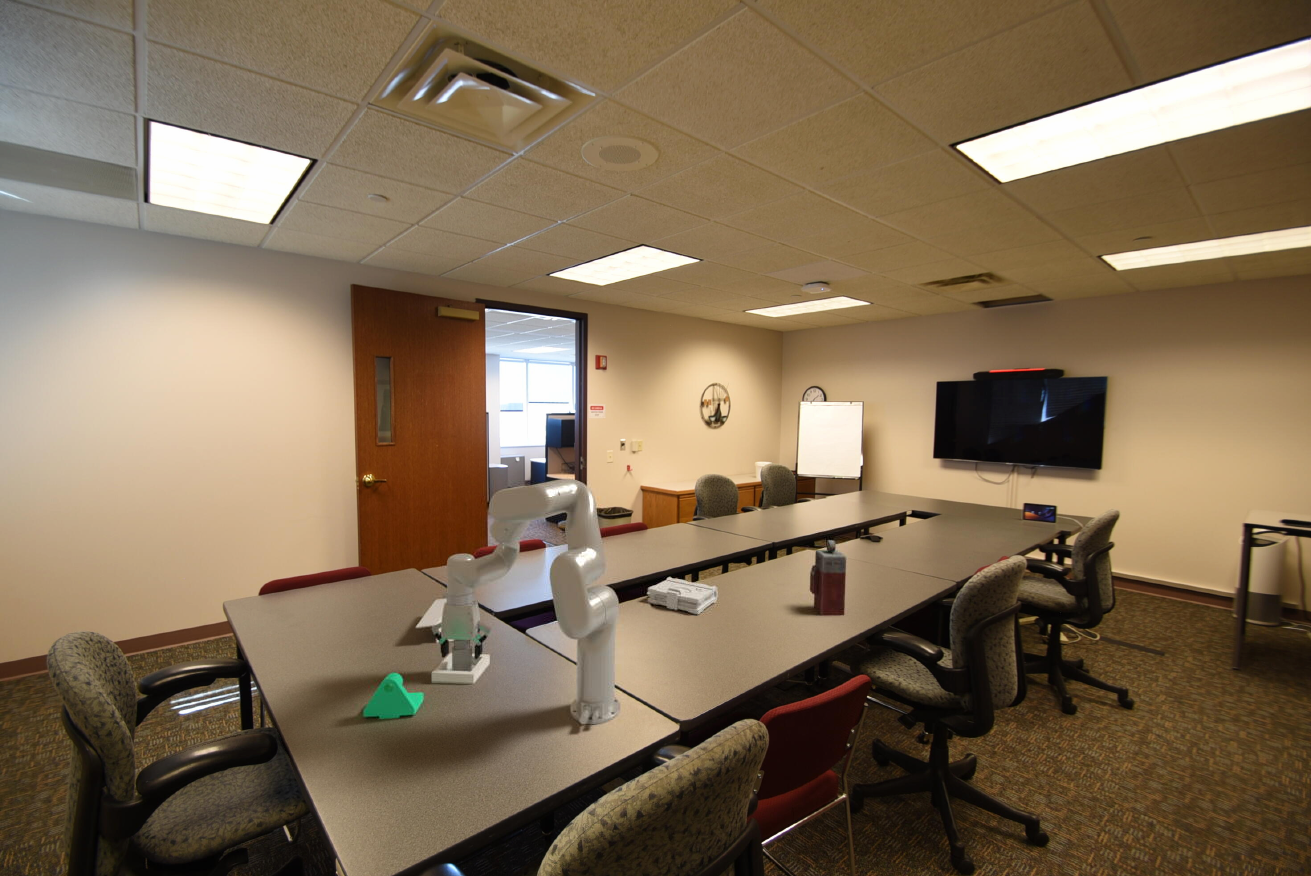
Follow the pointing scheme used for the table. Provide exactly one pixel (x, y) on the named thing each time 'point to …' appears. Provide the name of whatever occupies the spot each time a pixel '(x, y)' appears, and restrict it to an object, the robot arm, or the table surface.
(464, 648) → the power adapter
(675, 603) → the book
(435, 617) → the z bracket
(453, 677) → the tray
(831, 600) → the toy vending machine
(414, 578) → the table surface
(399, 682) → the camera mount
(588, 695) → the robot arm
